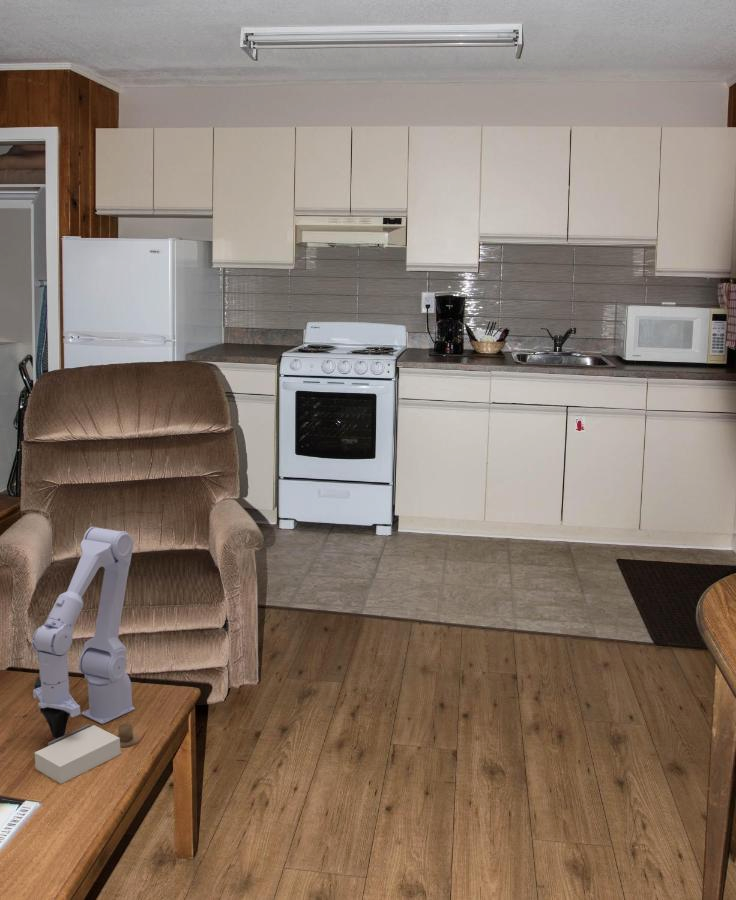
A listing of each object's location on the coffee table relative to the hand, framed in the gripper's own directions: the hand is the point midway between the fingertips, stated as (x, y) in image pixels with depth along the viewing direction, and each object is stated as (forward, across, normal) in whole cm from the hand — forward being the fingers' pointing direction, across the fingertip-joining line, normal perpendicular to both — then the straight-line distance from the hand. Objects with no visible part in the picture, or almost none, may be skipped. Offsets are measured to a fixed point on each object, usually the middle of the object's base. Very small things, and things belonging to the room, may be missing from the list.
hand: (58, 736), depth 208 cm
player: (+2, +9, -2) cm, 10 cm away
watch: (+2, -24, +13) cm, 27 cm away
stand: (+2, +10, +10) cm, 14 cm away
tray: (+1, +8, 0) cm, 8 cm away
